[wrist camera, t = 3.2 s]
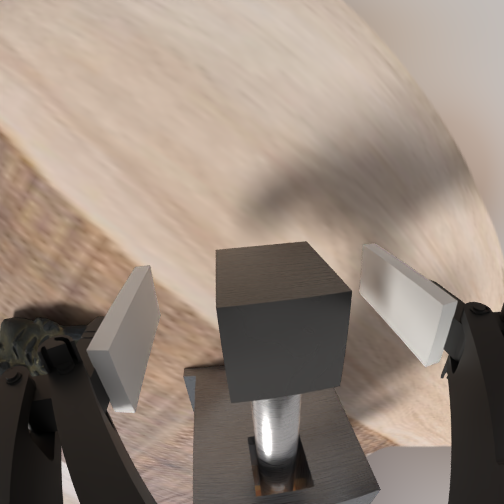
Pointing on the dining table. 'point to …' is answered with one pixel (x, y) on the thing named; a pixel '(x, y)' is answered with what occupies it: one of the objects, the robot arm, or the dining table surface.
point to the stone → (30, 341)
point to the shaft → (279, 342)
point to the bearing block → (245, 457)
